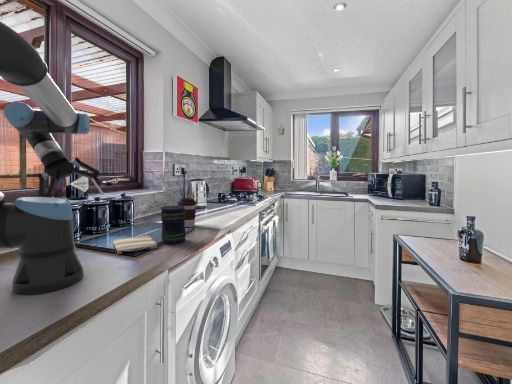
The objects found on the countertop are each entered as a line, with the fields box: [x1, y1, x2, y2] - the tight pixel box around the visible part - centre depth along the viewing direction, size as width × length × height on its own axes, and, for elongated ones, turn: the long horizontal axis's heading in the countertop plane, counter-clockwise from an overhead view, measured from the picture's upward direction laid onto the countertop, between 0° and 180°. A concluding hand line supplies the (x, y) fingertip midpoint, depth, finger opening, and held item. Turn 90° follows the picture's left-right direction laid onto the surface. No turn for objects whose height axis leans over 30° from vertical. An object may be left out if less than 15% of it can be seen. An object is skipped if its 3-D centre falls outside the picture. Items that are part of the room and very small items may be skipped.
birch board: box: [112, 235, 158, 255], centre depth 104 cm, size 16×14×2 cm
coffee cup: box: [177, 197, 198, 228], centre depth 138 cm, size 10×10×15 cm
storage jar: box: [160, 205, 187, 246], centre depth 109 cm, size 10×10×15 cm
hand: (83, 203), depth 92 cm, fingers open, 13 cm apart
